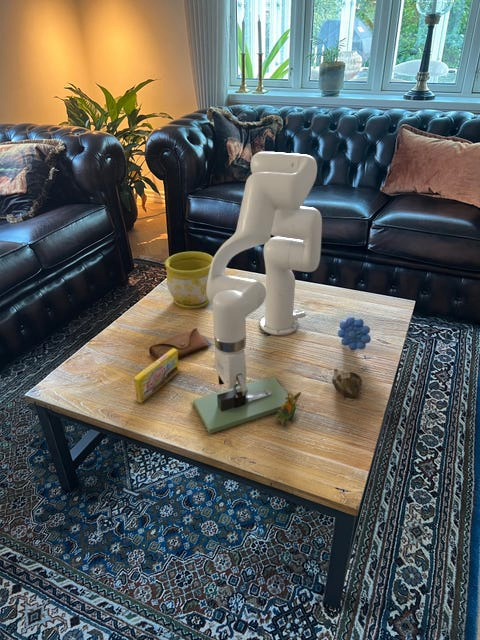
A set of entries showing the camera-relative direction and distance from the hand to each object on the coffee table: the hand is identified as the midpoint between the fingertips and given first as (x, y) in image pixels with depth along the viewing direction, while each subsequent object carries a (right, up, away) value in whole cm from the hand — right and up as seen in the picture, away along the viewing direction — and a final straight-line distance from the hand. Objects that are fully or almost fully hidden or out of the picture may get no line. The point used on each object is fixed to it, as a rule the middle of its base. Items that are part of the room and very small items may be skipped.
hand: (231, 394), depth 114 cm
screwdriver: (+4, -2, +3) cm, 5 cm away
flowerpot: (-16, +26, +52) cm, 61 cm away
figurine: (+15, -6, -1) cm, 16 cm away
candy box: (-21, 0, +10) cm, 23 cm away
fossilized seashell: (+31, 0, +9) cm, 33 cm away
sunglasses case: (-17, +9, +25) cm, 31 cm away
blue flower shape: (+38, +10, +25) cm, 47 cm away
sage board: (+3, -3, +3) cm, 6 cm away
